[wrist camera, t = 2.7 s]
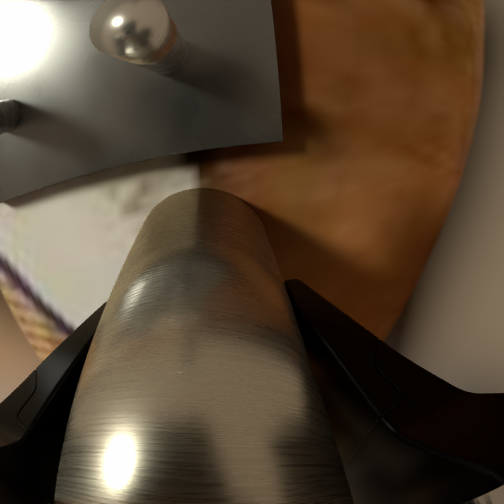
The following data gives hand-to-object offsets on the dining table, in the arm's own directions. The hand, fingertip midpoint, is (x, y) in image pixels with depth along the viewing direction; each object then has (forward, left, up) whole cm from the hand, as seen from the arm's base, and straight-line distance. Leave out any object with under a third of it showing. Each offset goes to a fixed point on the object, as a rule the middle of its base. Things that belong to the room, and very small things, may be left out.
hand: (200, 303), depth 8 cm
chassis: (+10, +3, -3) cm, 11 cm away
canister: (0, 0, -3) cm, 3 cm away
